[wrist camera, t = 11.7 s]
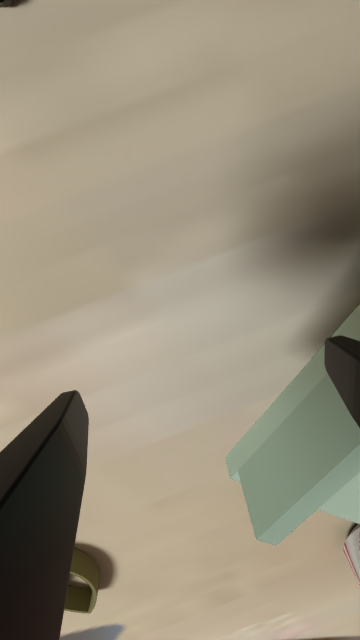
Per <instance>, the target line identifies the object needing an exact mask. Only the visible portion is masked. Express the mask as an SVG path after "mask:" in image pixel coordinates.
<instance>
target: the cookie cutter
mask: <svg viewBox="0 0 360 640" xmlns="http://www.w3.org/2000/svg"><path fill="white" fill-rule="evenodd" d="M70 574H73V575H76V576H78V577H80V578H81V579H83V580H84V581H85V582H87V583H88V584H89V586H90V587H91V589H84V588H77V587H72V586H68V588H67V594H66V601H65V607H64V610H65V611H71V612H78V613H91V612H92V610H93V609H94V607H95V604H96V601H97V593H98V585H99V577H100V572H99V567H98V565H97V563H96V562H95V560H94V559H93V558H92V557H91V556H89V555H88V554H87V553H85V552H83V551H81V550H78V549H76V548H74V551H73V558H72V564H71V570H70Z"/></svg>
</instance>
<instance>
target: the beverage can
mask: <svg viewBox="0 0 360 640" xmlns="http://www.w3.org/2000/svg"><path fill="white" fill-rule="evenodd" d="M343 549H344V553H345V555H346V557H347V559H348V561H349V563H350V565H351V567H352V569H353V571H354V574H355V576H356V578H357V580H358V582H359V584H360V524H358V525H357V526H355V527H354V528H353V530H352V531H351V533H350V535H349V537H348V538H347V540H346V541H345V543H344V548H343Z"/></svg>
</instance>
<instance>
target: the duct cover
mask: <svg viewBox="0 0 360 640" xmlns="http://www.w3.org/2000/svg"><path fill="white" fill-rule="evenodd" d="M339 335H342V336H346V337H349V338H352V339H355V340H358V341H360V304H359V305H358V306H357V308H356V309H355V310H354V311H353V312H352V313H351V314H350V316H349V317H348V318H347V319H346V320H345V321H344V322H343V324H342V325H341V326H340V327H339V328H338V329H337V330H336V332H335V333H334V334H333V335H332V336H331V337H334V336H339ZM324 353H325V344H324V345H323V346H322V347H321V349H320V350H319V351H318V352H317V353H316V354H315V355H314V357H313V358H312V359H311V360H310V361H309V362H308V363H307V365H306V366H305V367H304V368H303V369H302V370H301V371H300V373H299V374H298V375H297V376H296V377H295V378H294V379H293V381H292V382H291V383H290V384H289V385H288V386H287V387H286V389H285V390H284V391H283V392H282V393H281V394H280V395H279V397H278V398H277V399H276V400H275V401H274V402H273V403H272V405H271V406H270V407H269V408H268V409H267V410H266V411H265V412H264V414H263V415H262V416H261V417H260V418H259V419H258V420H257V422H256V423H255V424H254V425H253V426H252V427H251V428H250V430H249V431H248V432H247V433H246V434H245V435H244V436H243V438H242V439H241V440H240V441H239V442H238V443H237V444H236V446H235V447H234V448H233V449H232V450H231V451H230V452H229V454H228V455H227V456H226V457H225V459H226V463H227V467H228V471H229V476H230V479H232V480H235V481H238V482H241V485H242V489H243V492H244V496H245V500H246V503H247V507H248V511H249V515H250V518H251V522H252V526H253V530H254V533H255V537H256V540H258V541H262V542H265V543H269V544H272V545H275V546H276V545H278V544H279V543H280V542H281V541H282V540H283V539H284V538H285V537H287V536H288V535H289V534H290V533H291V532H292V531H293V530H295V529H296V528H297V527H298V526H299V525H300V524H301V523H302V522H304V521H305V520H306V519H307V518H308V517H309V516H310V515H312V514H313V513H314V512H315V511H316V510H317V509H318V510H320V511H323V512H326V513H329V514H332V515H335V516H337V517H340V518H343V519H346V520H349V521H352V522H355V523H357V524H360V428H359V427H358V425H357V424H356V422H355V421H354V419H353V418H352V416H351V414H350V413H349V411H348V409H347V408H346V406H345V404H344V402H343V400H342V398H341V397H340V395H339V393H338V391H337V389H336V388H335V386H334V384H333V382H332V380H331V379H330V377H329V375H328V373H327V371H326V369H325V364H324Z"/></svg>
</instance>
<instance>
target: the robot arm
mask: <svg viewBox="0 0 360 640" xmlns="http://www.w3.org/2000/svg"><path fill="white" fill-rule="evenodd" d="M13 1H14V0H0V7H7V6H9V5H11V4H12V2H13ZM324 364H325V369H326V371H327V373H328V375H329V377H330V379H331V380H332V382H333V384H334V386H335V388H336V389H337V391H338V393H339V395H340V397H341V398H342V400H343V402H344V404H345V406H346V408H347V409H348V411H349V413H350V414H351V416H352V418H353V419H354V421H355V422H356V424H357V425H358V427H359V428H360V341H358V340H355V339H352V338H349V337H346V336H342V335H339V336H334V337H329V338H327V339H326V340H325V353H324ZM88 424H89V419H88V413H87V410H86V408H85V405H84V403H83V401H82V398H81V396H80V394H79V392H78V391H76V390H74V391H69V392H64V393H62V394H60V395H59V396H58V397H57V398H56V399H55V400H54V401H53V402H52V403H51V404H50V405H49V406H48V407H47V408H46V409H45V410H44V411H43V412H42V413H41V414H40V415H38V416H37V417H36V418H35V419H34V420H33V421H32V422H31V423H30V424H29V425H28V426H27V427H26V428H25V429H24V430H23V431H22V432H21V433H20V434H19V435H18V436H17V437H16V438H15V439H14V440H12V441H11V442H10V443H9V444H8V445H7V446H6V447H5V448H4V449H3V450H2V451H1V452H0V640H59V638H60V631H61V625H62V619H63V613H64V607H65V601H66V594H67V588H68V582H69V576H70V570H71V564H72V558H73V551H74V545H75V539H76V533H77V527H78V521H79V514H80V508H81V502H82V496H83V490H84V484H85V477H86V466H87V446H88Z"/></svg>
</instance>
